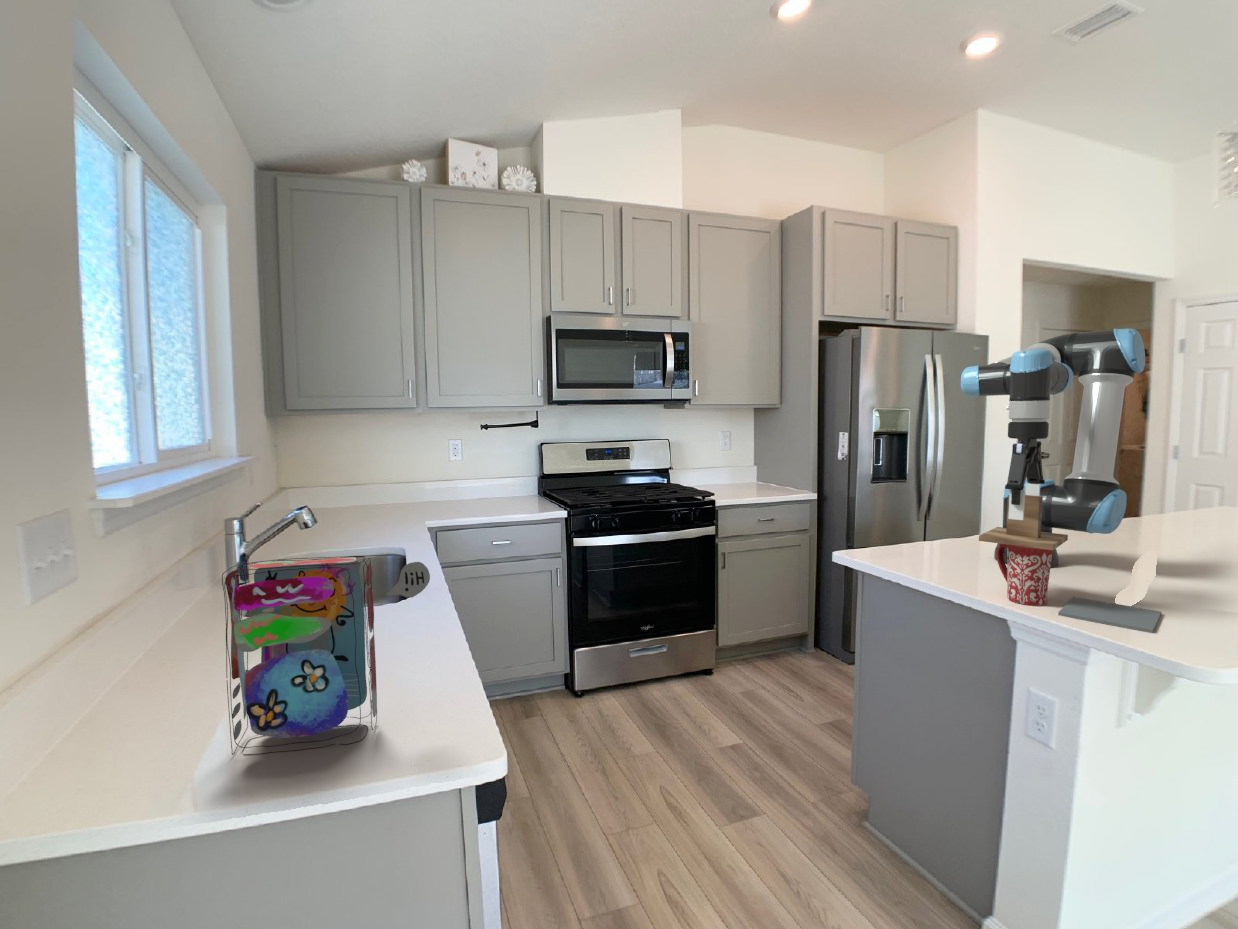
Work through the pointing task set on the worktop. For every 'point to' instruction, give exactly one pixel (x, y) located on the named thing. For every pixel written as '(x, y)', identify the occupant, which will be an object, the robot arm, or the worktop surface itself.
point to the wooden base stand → (1025, 529)
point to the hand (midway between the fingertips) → (1024, 515)
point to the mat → (1111, 614)
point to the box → (305, 643)
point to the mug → (1025, 573)
